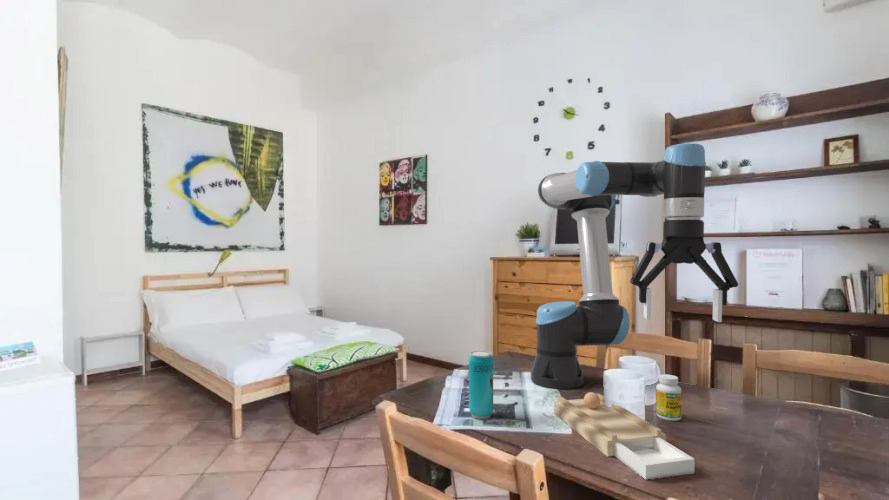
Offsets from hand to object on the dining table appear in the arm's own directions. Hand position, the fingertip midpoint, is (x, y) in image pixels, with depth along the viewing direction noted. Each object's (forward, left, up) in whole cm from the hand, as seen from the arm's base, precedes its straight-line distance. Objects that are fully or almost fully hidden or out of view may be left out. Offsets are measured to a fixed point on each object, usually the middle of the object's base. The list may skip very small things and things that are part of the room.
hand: (681, 319), depth 93 cm
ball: (-12, -14, -20) cm, 27 cm away
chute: (-7, -14, -25) cm, 29 cm away
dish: (+8, -14, -25) cm, 30 cm away
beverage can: (-21, -38, -25) cm, 50 cm away
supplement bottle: (-10, +5, -25) cm, 27 cm away
